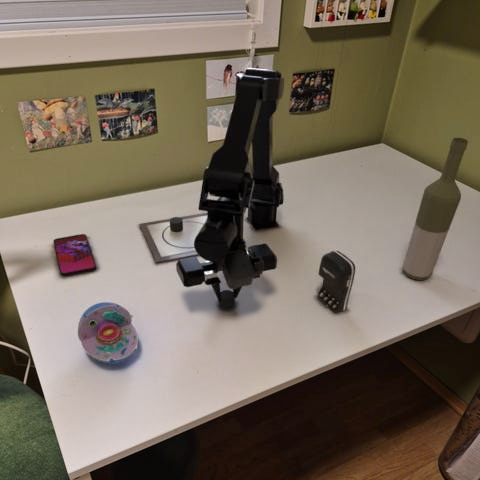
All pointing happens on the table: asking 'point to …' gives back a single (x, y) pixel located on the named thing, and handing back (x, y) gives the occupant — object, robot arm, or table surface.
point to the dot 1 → (176, 224)
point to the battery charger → (336, 280)
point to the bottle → (435, 217)
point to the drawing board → (173, 238)
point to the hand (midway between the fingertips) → (226, 298)
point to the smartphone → (74, 254)
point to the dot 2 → (227, 299)
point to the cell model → (107, 332)
